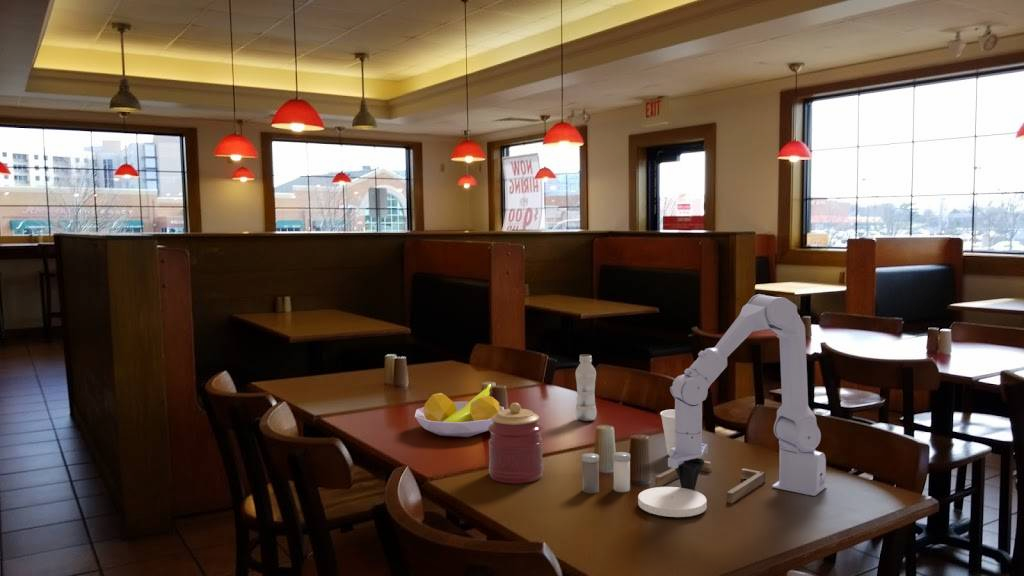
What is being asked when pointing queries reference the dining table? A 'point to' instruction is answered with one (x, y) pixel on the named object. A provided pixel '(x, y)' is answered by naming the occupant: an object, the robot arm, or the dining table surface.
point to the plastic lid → (672, 501)
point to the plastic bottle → (585, 389)
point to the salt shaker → (621, 471)
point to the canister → (515, 446)
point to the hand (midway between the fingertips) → (688, 492)
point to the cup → (669, 428)
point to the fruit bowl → (458, 414)
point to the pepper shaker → (590, 473)
